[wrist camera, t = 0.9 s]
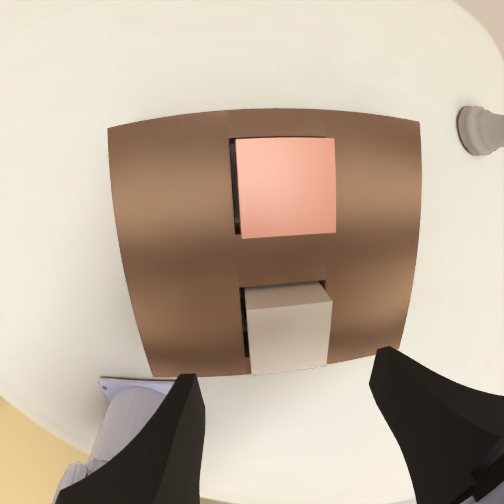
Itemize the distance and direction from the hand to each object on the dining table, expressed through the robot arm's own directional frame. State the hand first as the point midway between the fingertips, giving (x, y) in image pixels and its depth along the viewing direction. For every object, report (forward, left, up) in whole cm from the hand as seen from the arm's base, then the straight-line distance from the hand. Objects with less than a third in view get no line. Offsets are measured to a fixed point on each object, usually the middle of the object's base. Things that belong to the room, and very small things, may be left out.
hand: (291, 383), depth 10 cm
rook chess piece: (+12, -19, -10) cm, 24 cm away
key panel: (+3, -1, -9) cm, 10 cm away
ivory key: (-1, -1, -8) cm, 8 cm away
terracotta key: (+7, -1, -8) cm, 10 cm away
